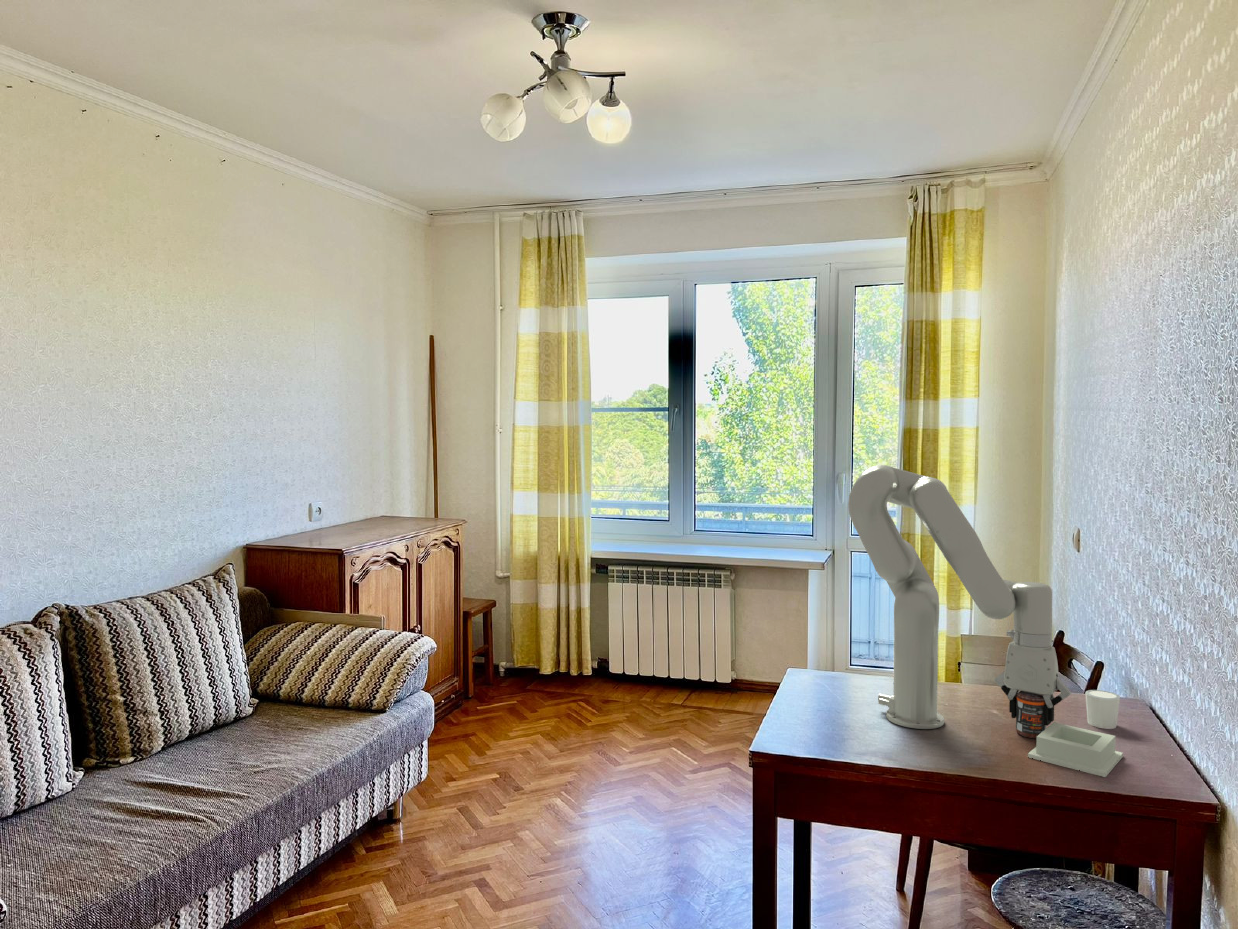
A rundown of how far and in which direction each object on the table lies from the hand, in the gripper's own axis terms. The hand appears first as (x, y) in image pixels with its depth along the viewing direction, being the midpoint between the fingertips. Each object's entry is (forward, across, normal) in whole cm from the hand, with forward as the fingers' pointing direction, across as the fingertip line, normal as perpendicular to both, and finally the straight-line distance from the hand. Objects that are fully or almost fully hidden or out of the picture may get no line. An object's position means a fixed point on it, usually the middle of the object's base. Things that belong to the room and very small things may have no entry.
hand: (1031, 719), depth 180 cm
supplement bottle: (+4, 0, 0) cm, 4 cm away
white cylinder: (+4, +10, +18) cm, 21 cm away
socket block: (+3, +11, -7) cm, 13 cm away
